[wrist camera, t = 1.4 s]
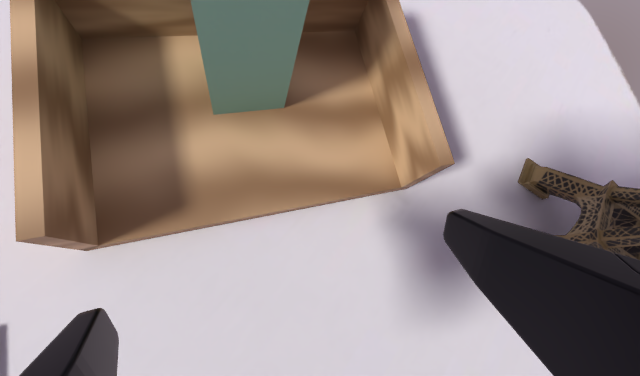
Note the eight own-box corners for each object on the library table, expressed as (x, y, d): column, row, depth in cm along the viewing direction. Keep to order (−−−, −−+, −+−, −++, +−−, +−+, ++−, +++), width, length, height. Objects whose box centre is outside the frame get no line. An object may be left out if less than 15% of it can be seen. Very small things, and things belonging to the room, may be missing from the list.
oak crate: (406, 188, 24) (454, 163, 19) (86, 250, 18) (16, 241, 13) (358, 29, 27) (387, -33, 22) (70, 37, 21) (8, -47, 16)
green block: (284, 107, 23) (322, -55, 11) (213, 114, 21) (177, -63, 10) (270, 49, 24) (293, -152, 12) (202, 52, 22) (159, -172, 11)
